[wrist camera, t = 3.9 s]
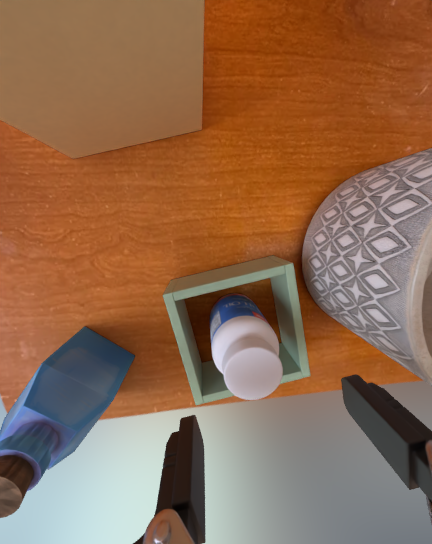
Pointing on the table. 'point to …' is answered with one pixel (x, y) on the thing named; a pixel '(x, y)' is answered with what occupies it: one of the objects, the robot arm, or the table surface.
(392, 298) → the planter
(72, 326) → the table surface
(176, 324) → the green hollow square box
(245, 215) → the table surface
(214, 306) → the pill bottle
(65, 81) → the stand
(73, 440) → the perfume bottle
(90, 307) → the table surface
